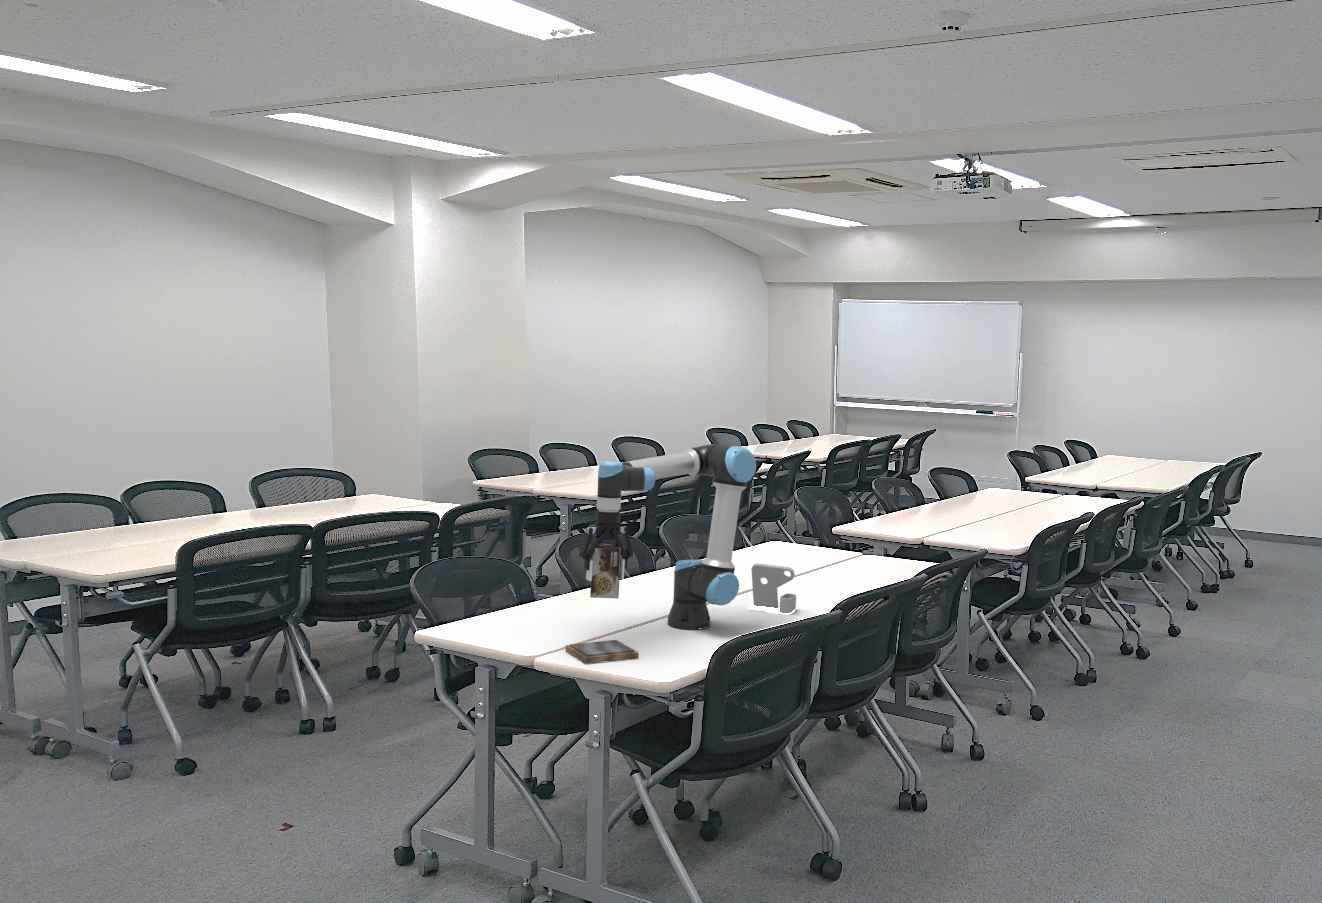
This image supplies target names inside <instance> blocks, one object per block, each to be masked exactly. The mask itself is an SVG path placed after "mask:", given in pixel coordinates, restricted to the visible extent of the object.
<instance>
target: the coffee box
mask: <svg viewBox="0 0 1322 903" xmlns="http://www.w3.org/2000/svg"><path fill="white" fill-rule="evenodd" d="M620 558H621V555H620V546H616V545H615V544H599V546H598V548H595V553H594V554H593V556H592V558H591V560H593V566H592V581H590V591H589V592H590V593H589V598H591V599H592V598H593V599H594V598H596V599H597V598H598V599H619V595H620V579H619V576H620Z"/></svg>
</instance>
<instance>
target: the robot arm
mask: <svg viewBox="0 0 1322 903" xmlns="http://www.w3.org/2000/svg"><path fill="white" fill-rule="evenodd" d="M756 471H757V462H756V458H755V456H754V454H753V453H752V451H750V450H749V449H748V448H745V447H743V446H738V445H732V444H731V445H729V444H723V443H711V444H706V445H699V446H696V447H690V448H687V449H685V450H684V451H683V452H677V453H671V454H665V455H660V456H659V455H658V456H653V457H647V458H642V459H640V458H639V459H634V460H627V461H616V460H615V461H613V460H612V461H610V460H605V461H604V460H603V461H600V462H599V465H598V470H597V472H598V473H597V492H596V493H597V496H596V509H597V510H596V512H595V513H596V514H595V515H596V516H595V526H593V527H592V526H591V527H590V526H586V529H585V530H586V531H585V537H584V539H583V543H582V546H581V548H580V551H579V553H578V556H579V558H581V559H584V563H583V565H584V568H583V569H584V571H586V574H585V575H586V576H585V579H586V580H587V581H588V582H591V581H592V566H593V560H592V556H593V554H594V553H595V548H598V546H599V545H601V543H602V542H603V541H607V540H609V541H613V543H614V545H616V546H620V576H619V580H622V581H623V580H625V569H627V568H628V560H629V559H630V558H631V557H633V556H634V552H633V548H632V544H631V540H630V536H629V530H630V529H629V527H628V526H626V525H623V526H621V525H620V522H621V511H620V510H621V502H622V492H645V491H646V492H647V491H652V489H653V488H654V486H655V483H656V480H659V479H665V478H671V477H676V476H681V475H687V474H688V475H689V476H693V477H694V476H709V477H713V479H712V484H713V485H714V487H715V496H714V502H713V510H712V517H711V524H710V530H709V536H708V537H709V538H708V544H707V545H708V546H707V552H706V557H705V558H704V559H683V560H678V561H677V562H675V565H674V571H673V573H674V576H673V600H672V601H673V602H672V605H671V607H670V610H669V614H668V615H667V625H668V626H670V627H673V628H676V629H680V628H681V629H680V630H691V629H695V630H700V629H699V628H705V627H708V626H710V627H711V617H710V612H709V609H708V606H707V603H709V604H711V605H716V606H726V605H728V604H730V603H731V602H732V601H734V600H735V598H736V597H737V595H738V593H739V590H740V582H739V579H738V576H736V575H735V569H736V566H735V565H734V563H733V561H732V559H733V553H734V552H733V551H734V545H735V537H736V531H737V524H738V516H739V509H740V503H741V496H742V492H743V491H744V490H745V489H746V488H747V484H748V482H750V481H752V478H753V477H755V474H756ZM619 532H620V533H621V537H622V541H623V544H622V542H621V541H620V540H621V538H620V537H619V536H618V534H619ZM595 533H596V535H595V537H594V536H593V535H594V534H595ZM593 537H594V540H593V541H592V539H593ZM591 542H592V543H591ZM623 545H624V546H623ZM708 628H709V627H708ZM705 629H706V628H705Z"/></svg>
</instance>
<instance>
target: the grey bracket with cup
mask: <svg viewBox="0 0 1322 903" xmlns="http://www.w3.org/2000/svg"><path fill="white" fill-rule="evenodd" d="M785 572H789V573H790V576H788V575H786V574H785ZM763 578H764V579H766V580H767V582H766V583H763V582H762V581H761V579H763ZM794 578H795V570H794V568H791V567H789V566H783V565H782V566H781V565H775V564H774V565H773V564H767V563H766V564H764V563H754V564H753V565H752V567H751V580H752V581H751V582H752V585H751V586H752V598H753V604H754V605H756V606H766V607H774V608H778V607H780V612H782V613H790V612H792V611H793V610H794V609H796V607H797V595H796V594H795V593H785V594H783V595H781V596H780V598H778V597H779V596H778V594H779V593H778V588H779V587H781V586H783V585H786V584H787V583H789V582H792V581H793V579H794ZM796 610H797V609H796Z"/></svg>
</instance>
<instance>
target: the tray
mask: <svg viewBox="0 0 1322 903" xmlns="http://www.w3.org/2000/svg"><path fill="white" fill-rule="evenodd" d="M565 651H566V652H565V653H567V652H568V653H569V655H570V654H571V655H570V656H572V655H573V656H575V657H576V658H578V659H580V660H581V661H583V662H584V663H593V664H595V663H594V662H602V663H604V662H603V661H612V662H615V661H614V660H621V661H627V660H626V659H630V660H636V659H635V658H638V659H639V655H640V654H639V651H637V650H635V648H634V649H633V648H632V647H630V646H628V645H626V644H624V643H623V642H621V641H619V640H618V639H613V640H612V639H610V640H602V641H601V640H600V641H592V642H591V641H590V642H589V641H588V642H581V643H579V642H578V643H570V644H567V645H565ZM568 653H567V654H568ZM573 656H572V657H573ZM575 657H574V658H575ZM576 658H575V659H576ZM578 659H577V660H578ZM580 660H579V661H580ZM581 661H580V662H581ZM583 662H582V663H583ZM584 663H583V664H584Z"/></svg>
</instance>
